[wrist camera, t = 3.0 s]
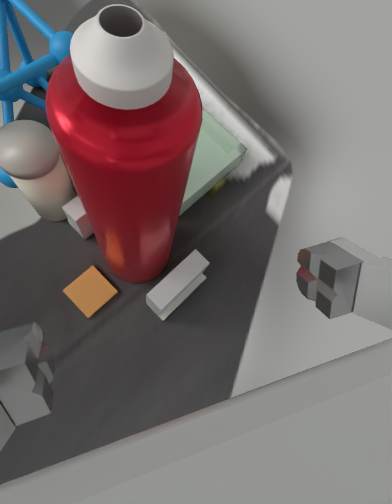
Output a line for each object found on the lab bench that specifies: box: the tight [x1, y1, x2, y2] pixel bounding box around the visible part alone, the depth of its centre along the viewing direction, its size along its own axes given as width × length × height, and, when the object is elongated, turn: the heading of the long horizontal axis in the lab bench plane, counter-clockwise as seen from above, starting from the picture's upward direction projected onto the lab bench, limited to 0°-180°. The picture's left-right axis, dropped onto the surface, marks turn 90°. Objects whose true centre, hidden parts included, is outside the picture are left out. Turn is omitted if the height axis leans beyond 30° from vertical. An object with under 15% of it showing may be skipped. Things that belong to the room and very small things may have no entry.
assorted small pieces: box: [0, 108, 247, 321], centre depth 25 cm, size 16×20×8 cm
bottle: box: [45, 4, 202, 283], centre depth 18 cm, size 5×6×20 cm
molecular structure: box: [0, 0, 74, 188], centre depth 25 cm, size 10×10×10 cm
